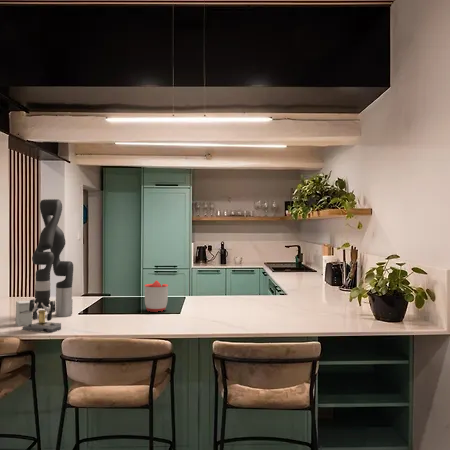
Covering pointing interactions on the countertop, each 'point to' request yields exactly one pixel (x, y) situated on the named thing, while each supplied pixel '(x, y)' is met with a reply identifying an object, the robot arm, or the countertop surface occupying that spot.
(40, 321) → the pin
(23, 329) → the chain end lower
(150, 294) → the citrus juicer
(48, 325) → the chain end upper
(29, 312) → the supplement box
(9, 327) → the countertop surface
